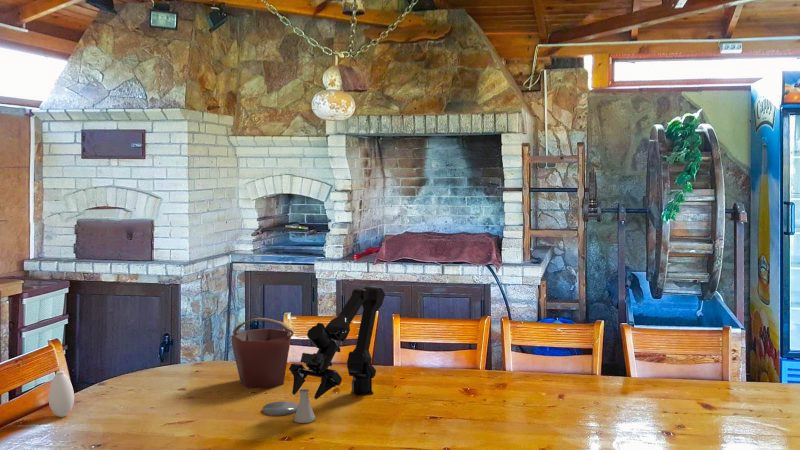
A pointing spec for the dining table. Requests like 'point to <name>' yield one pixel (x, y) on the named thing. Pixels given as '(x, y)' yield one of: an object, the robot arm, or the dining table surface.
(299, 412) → the flask
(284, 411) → the slate coaster
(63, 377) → the grey teardrop piece
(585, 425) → the dining table surface
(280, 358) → the bucket
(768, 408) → the dining table surface
